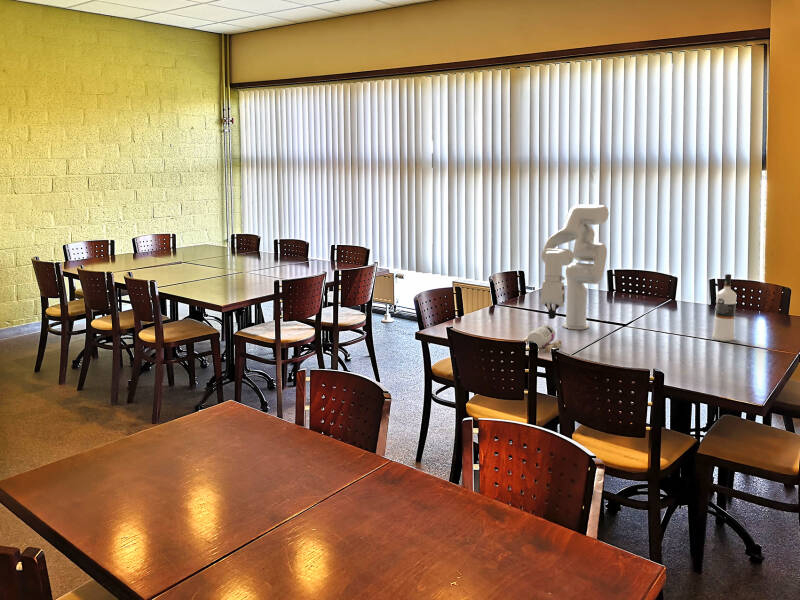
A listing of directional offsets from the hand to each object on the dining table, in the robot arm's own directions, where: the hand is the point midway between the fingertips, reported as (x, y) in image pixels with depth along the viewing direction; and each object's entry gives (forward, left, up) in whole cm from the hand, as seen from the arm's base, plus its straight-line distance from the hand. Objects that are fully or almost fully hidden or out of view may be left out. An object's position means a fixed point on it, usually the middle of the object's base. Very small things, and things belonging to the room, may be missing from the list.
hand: (552, 318), depth 332 cm
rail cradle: (+14, 0, -10) cm, 18 cm away
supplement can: (+6, 0, -6) cm, 8 cm away
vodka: (-43, +65, -10) cm, 79 cm away
